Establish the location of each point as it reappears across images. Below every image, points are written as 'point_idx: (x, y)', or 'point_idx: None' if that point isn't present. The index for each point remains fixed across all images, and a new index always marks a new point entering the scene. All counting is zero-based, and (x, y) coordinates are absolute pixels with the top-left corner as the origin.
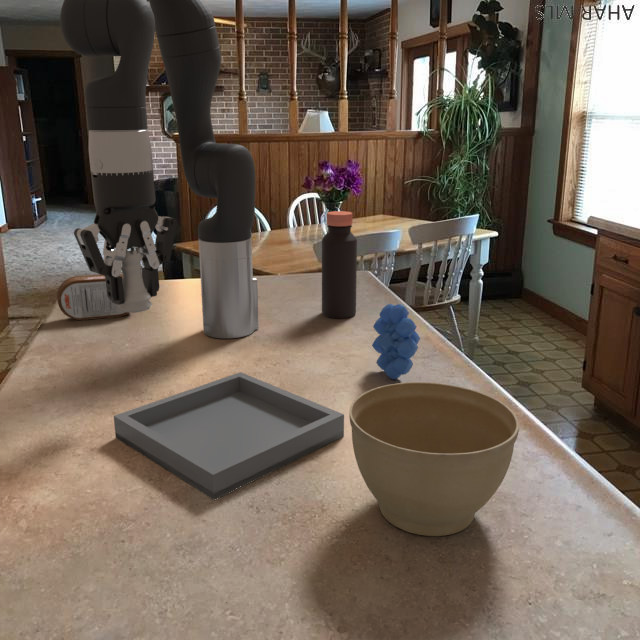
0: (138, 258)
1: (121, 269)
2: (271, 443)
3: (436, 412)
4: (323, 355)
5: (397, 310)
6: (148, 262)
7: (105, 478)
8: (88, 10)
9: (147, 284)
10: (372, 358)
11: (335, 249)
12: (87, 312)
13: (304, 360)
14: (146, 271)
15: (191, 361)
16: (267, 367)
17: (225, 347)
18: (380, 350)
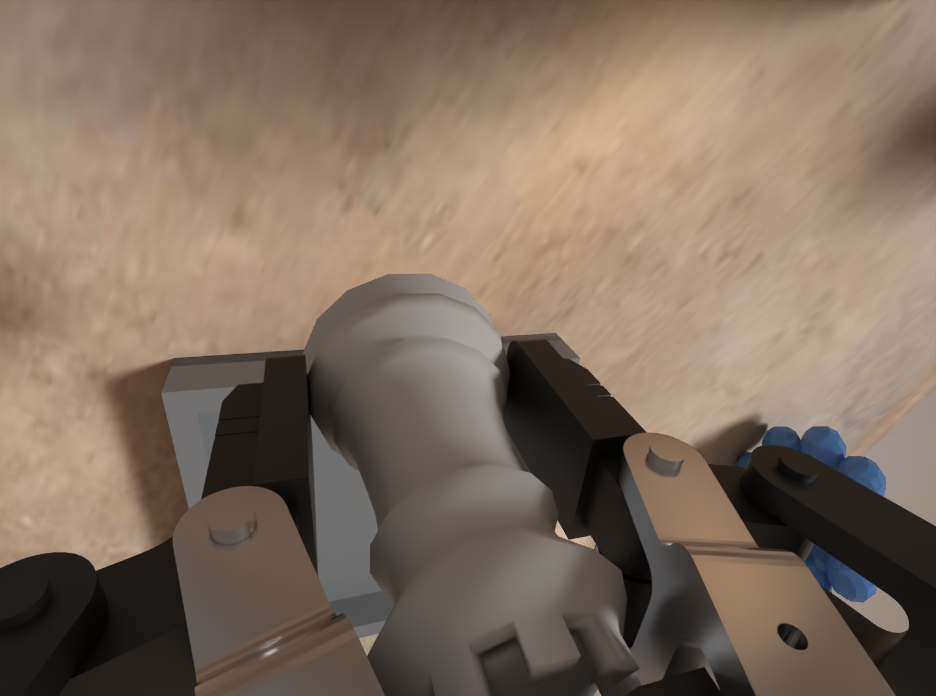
0: None
1: (370, 552)
2: (372, 627)
3: None
4: (812, 291)
5: (848, 595)
6: (620, 550)
7: (78, 498)
8: None
9: (532, 417)
10: (822, 370)
11: None
12: None
13: (771, 284)
14: (572, 482)
15: (651, 34)
16: (702, 257)
17: (795, 20)
18: (802, 450)
